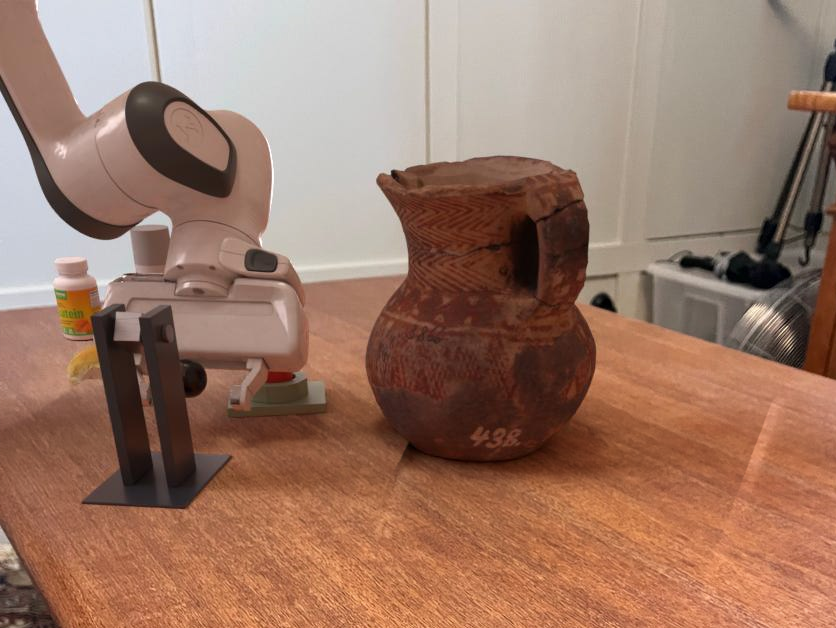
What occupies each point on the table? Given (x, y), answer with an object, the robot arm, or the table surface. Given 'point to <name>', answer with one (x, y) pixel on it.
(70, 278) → the supplement bottle
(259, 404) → the switch box
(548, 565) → the table surface
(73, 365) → the yellow curved piece
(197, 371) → the ball knob lever
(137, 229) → the container
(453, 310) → the jug
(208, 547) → the table surface
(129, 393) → the dark wooden stand
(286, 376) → the button
